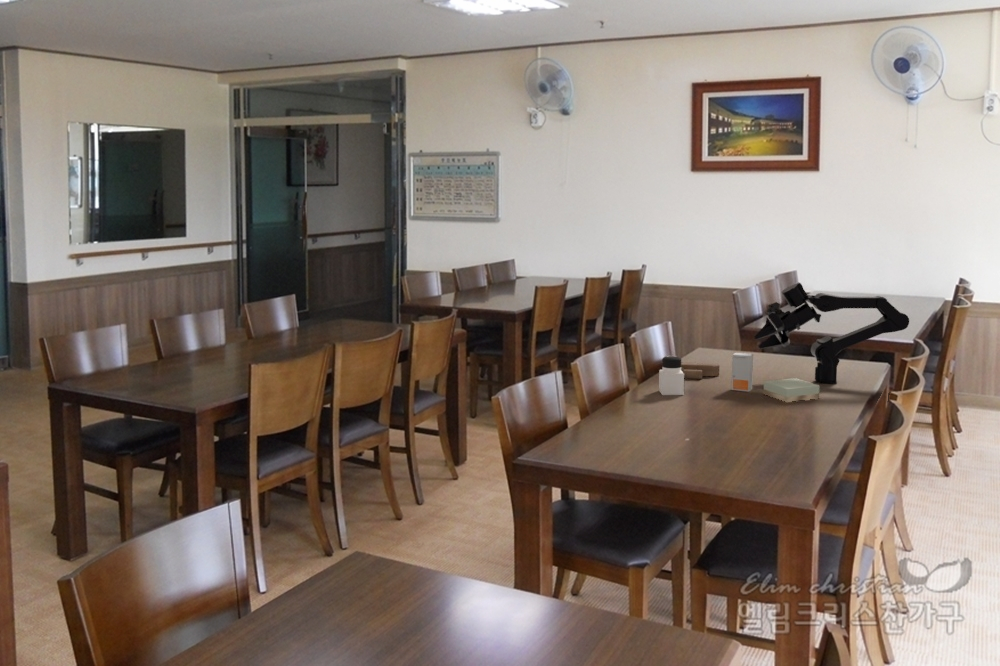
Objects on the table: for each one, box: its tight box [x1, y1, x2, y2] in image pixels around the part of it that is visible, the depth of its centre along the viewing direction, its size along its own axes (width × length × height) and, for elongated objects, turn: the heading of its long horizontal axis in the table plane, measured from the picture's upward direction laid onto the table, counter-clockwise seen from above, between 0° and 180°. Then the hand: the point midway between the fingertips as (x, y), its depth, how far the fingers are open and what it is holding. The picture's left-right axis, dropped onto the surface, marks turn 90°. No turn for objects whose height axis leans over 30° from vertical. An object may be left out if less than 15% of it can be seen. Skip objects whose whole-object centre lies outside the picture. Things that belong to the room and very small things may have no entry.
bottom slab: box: [763, 388, 820, 403], centre depth 298 cm, size 12×12×2 cm
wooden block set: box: [681, 361, 720, 380], centre depth 326 cm, size 17×6×18 cm
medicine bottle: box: [658, 355, 685, 396], centre depth 304 cm, size 7×7×12 cm
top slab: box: [763, 377, 820, 397], centre depth 297 cm, size 12×12×2 cm
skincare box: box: [730, 352, 754, 393], centre depth 307 cm, size 6×4×12 cm
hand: (757, 343), depth 319 cm, fingers open, 9 cm apart
